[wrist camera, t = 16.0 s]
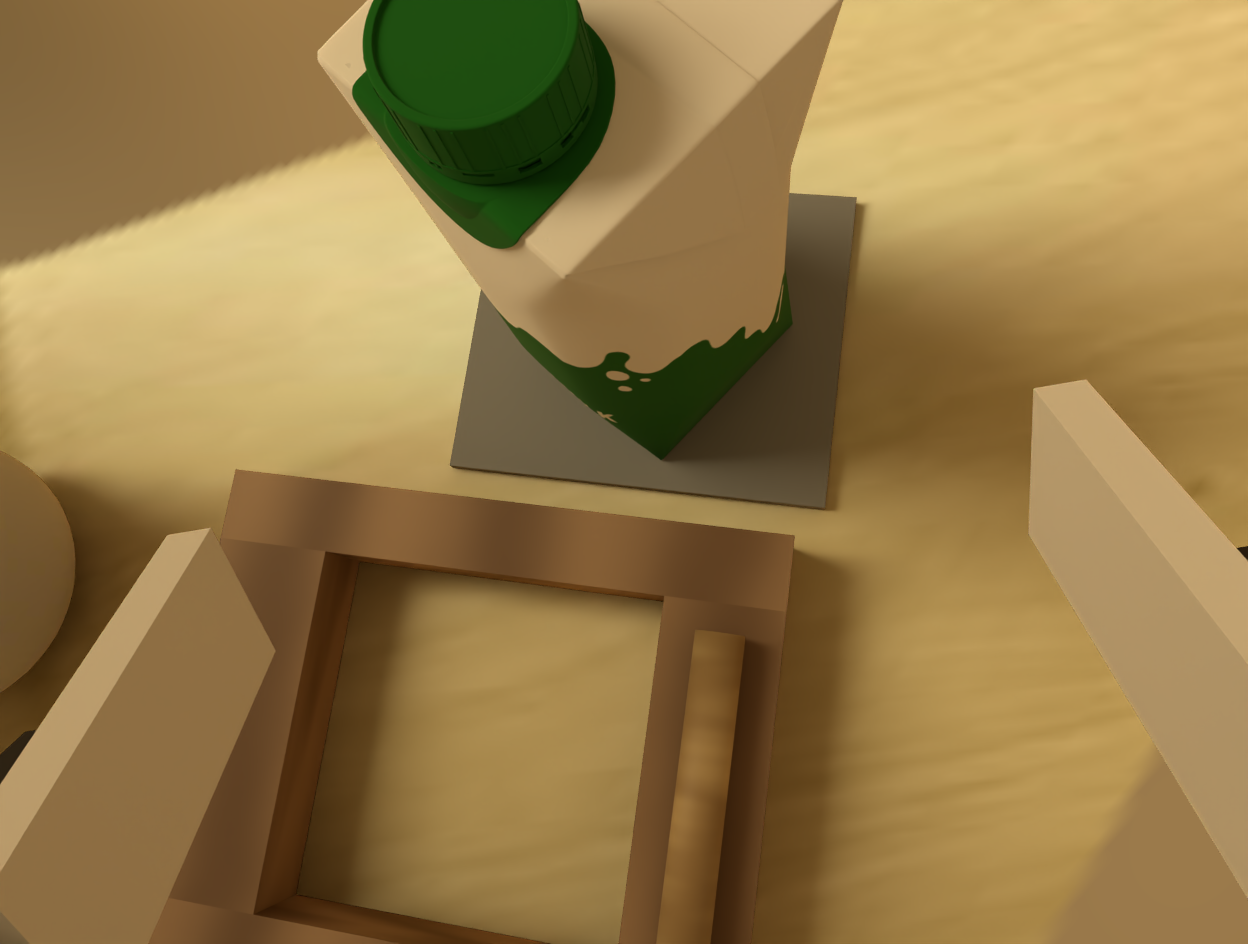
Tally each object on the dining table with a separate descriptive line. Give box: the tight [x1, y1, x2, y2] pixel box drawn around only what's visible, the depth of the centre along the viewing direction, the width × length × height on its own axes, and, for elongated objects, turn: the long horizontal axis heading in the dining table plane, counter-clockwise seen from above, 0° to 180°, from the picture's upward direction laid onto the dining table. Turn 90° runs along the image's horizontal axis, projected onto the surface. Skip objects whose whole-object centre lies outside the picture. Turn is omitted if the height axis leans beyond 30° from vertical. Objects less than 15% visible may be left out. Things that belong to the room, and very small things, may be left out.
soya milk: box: [318, 0, 843, 460], centre depth 27 cm, size 9×9×20 cm
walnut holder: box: [148, 470, 795, 944], centre depth 32 cm, size 20×17×5 cm
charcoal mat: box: [450, 193, 857, 510], centre depth 37 cm, size 14×12×1 cm
